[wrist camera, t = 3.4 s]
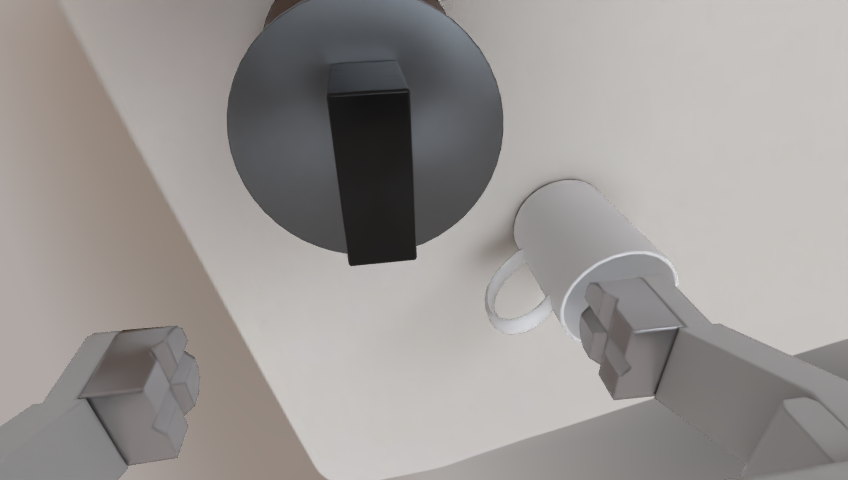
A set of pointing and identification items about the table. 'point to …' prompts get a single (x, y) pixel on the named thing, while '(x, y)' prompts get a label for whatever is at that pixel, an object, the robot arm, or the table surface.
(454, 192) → the bin
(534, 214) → the mug
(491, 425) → the table surface
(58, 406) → the robot arm
